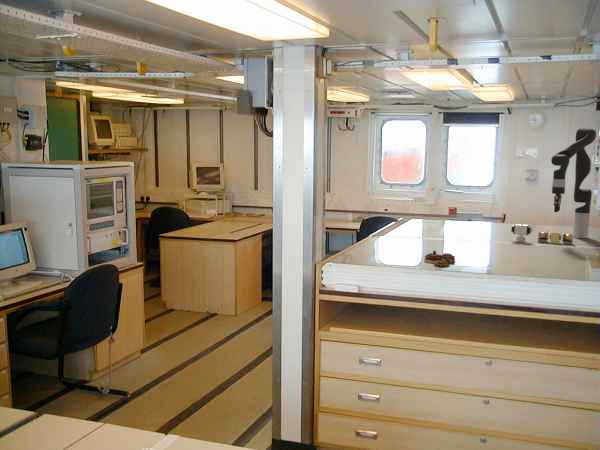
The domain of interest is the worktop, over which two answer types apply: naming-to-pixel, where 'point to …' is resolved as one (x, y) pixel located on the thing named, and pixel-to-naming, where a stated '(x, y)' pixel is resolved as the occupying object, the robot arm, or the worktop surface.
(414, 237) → the worktop surface
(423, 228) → the worktop surface
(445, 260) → the gear puzzle
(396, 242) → the worktop surface
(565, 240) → the pipe stubs
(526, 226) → the pneumatic valve
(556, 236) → the block
